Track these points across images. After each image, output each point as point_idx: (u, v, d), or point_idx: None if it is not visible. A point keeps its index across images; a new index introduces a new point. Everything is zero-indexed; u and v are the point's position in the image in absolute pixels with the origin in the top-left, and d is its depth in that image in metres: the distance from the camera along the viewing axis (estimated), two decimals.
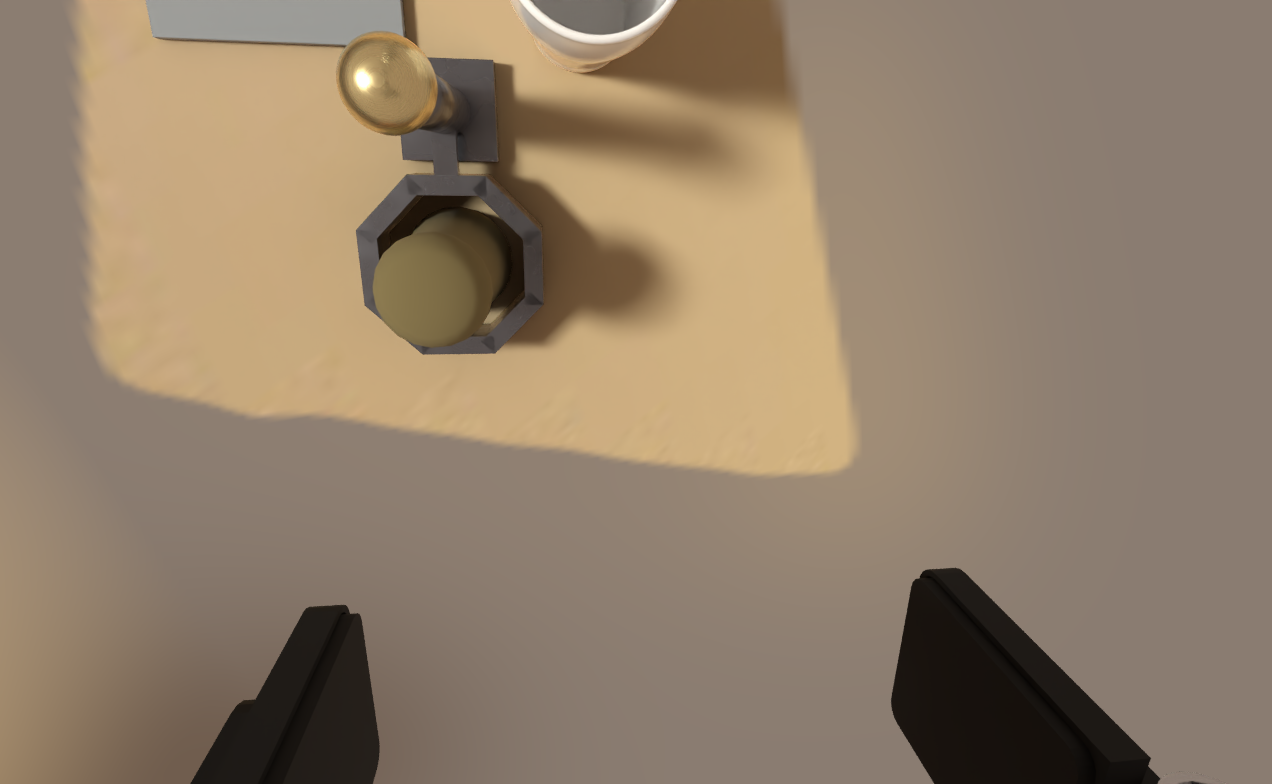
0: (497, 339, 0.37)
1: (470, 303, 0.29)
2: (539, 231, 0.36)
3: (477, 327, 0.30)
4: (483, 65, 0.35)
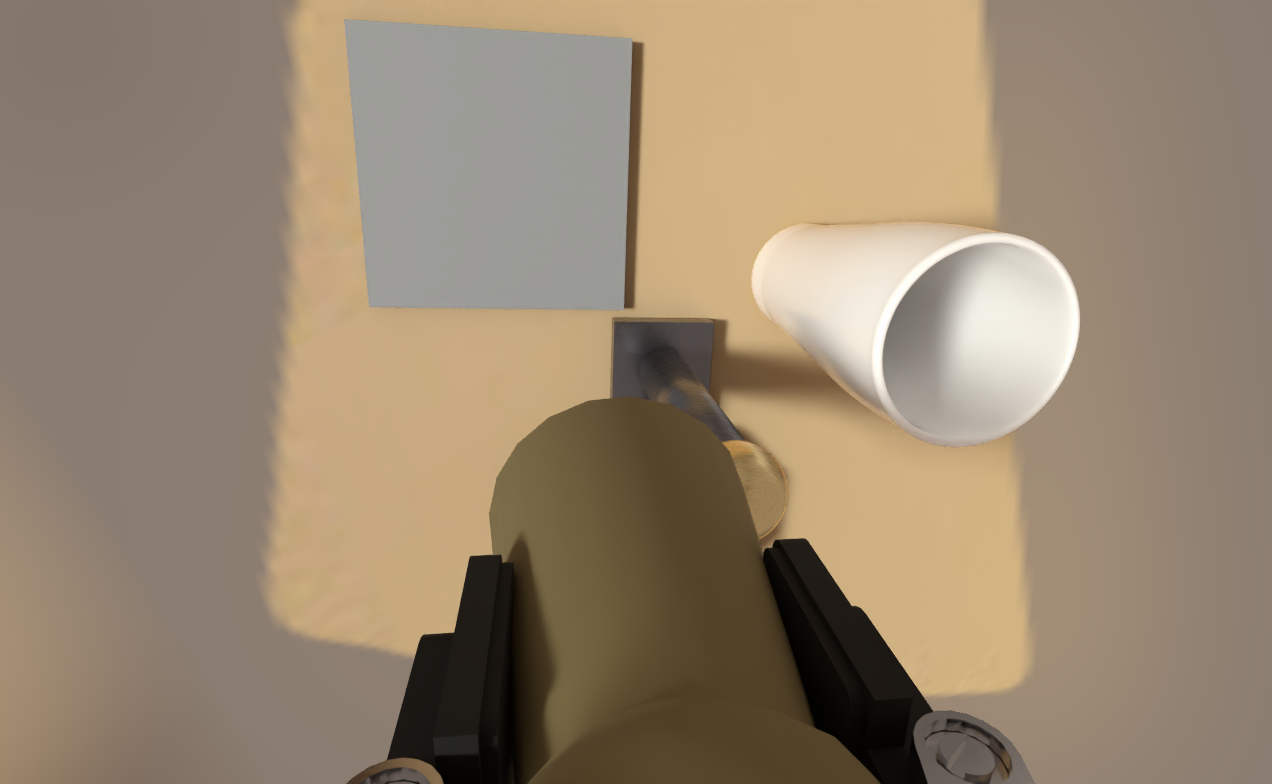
0: None
1: None
2: None
3: None
4: (704, 327, 0.33)
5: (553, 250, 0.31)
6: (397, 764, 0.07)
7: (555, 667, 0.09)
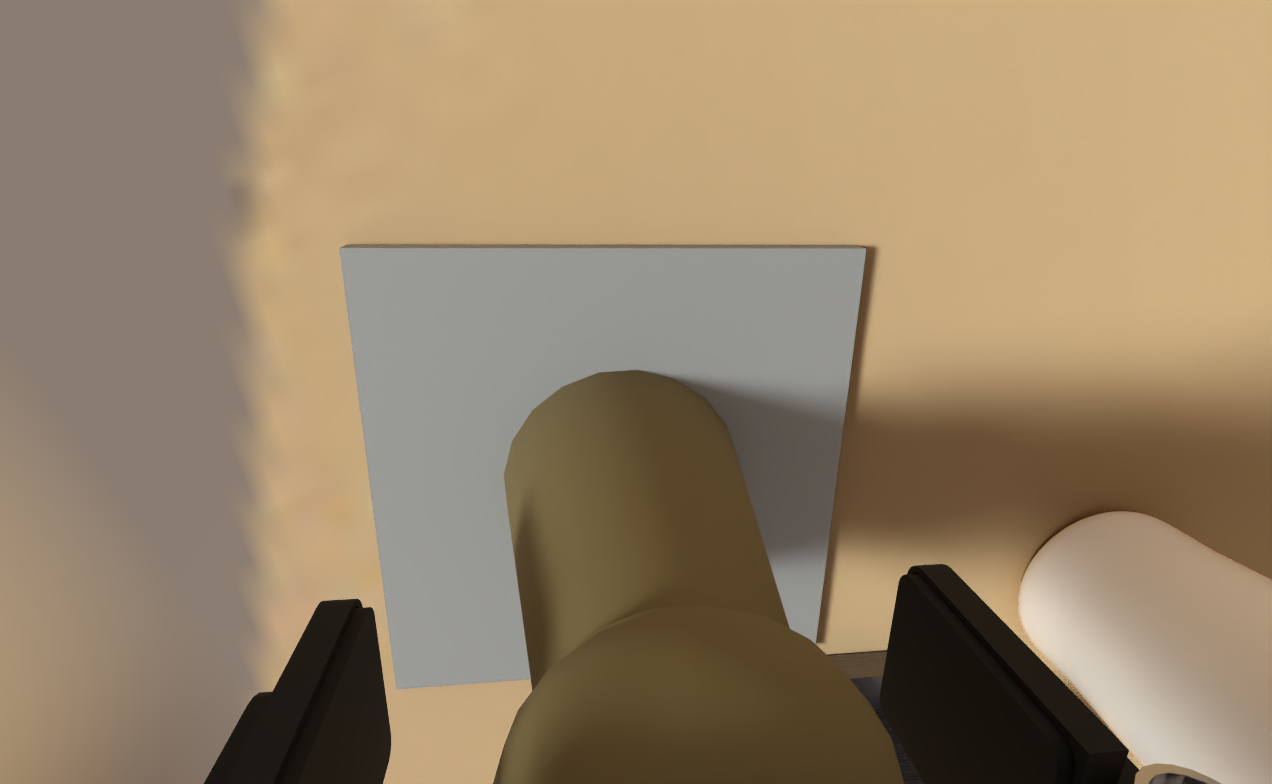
0: None
1: None
2: None
3: None
4: None
5: None
6: None
7: (571, 586, 0.10)
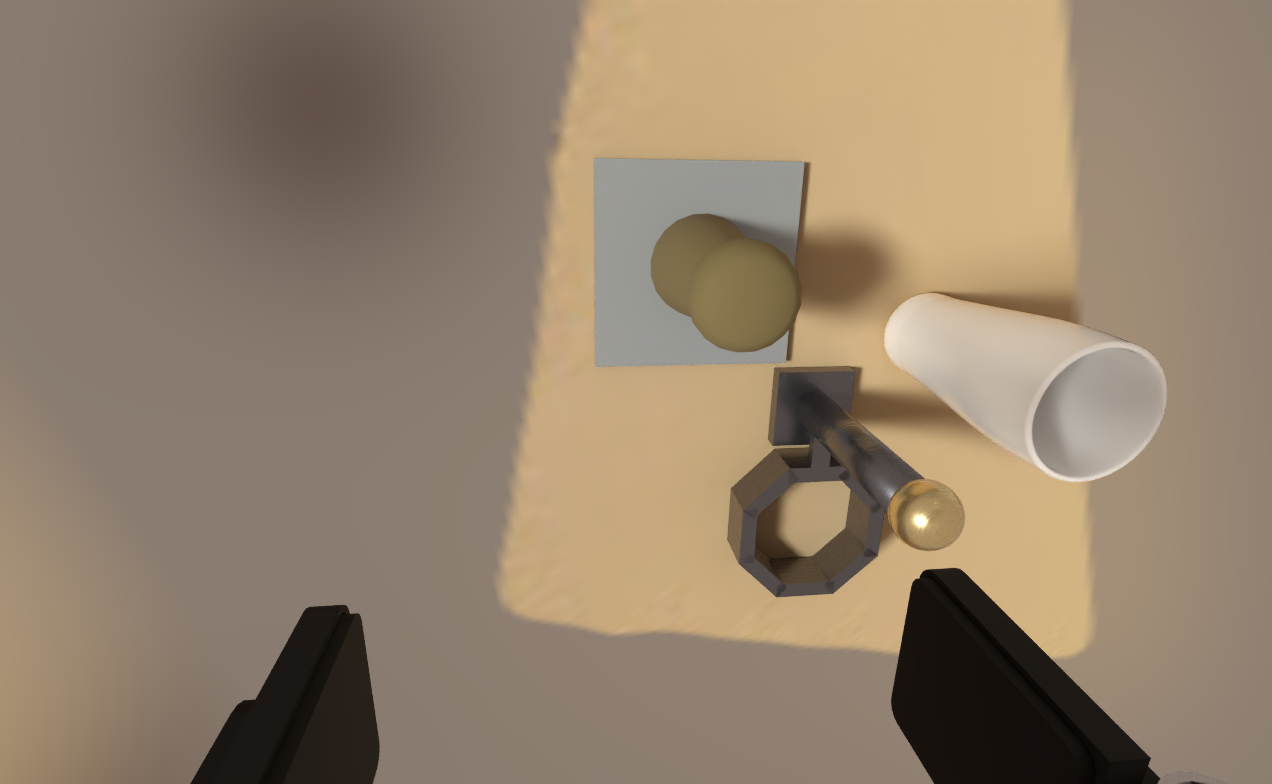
0: (836, 583, 0.45)
1: (790, 310, 0.29)
2: None
3: (784, 333, 0.30)
4: (847, 375, 0.42)
5: None
6: None
7: (700, 253, 0.32)
